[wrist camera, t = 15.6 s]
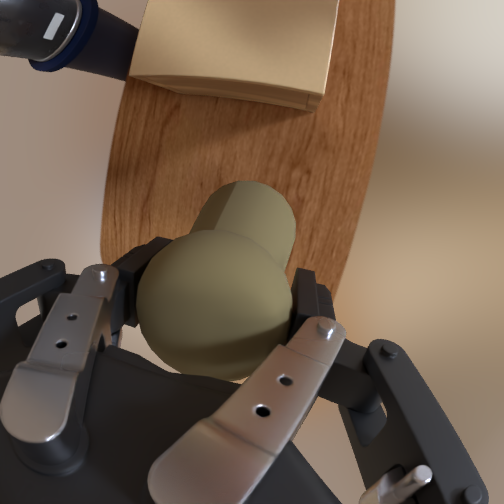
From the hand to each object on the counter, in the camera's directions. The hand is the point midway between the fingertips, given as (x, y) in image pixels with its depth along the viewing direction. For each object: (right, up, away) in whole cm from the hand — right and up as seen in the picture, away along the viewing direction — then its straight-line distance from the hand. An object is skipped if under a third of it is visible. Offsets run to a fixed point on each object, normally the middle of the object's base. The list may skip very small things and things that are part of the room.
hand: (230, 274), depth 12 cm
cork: (+1, +2, +6) cm, 7 cm away
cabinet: (+2, +21, +8) cm, 22 cm away
